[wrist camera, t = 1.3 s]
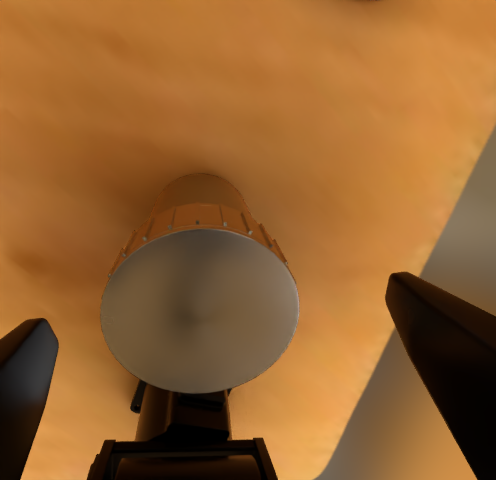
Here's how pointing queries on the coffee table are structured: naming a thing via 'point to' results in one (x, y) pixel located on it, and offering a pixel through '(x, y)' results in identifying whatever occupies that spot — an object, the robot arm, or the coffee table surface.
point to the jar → (199, 193)
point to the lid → (199, 300)
